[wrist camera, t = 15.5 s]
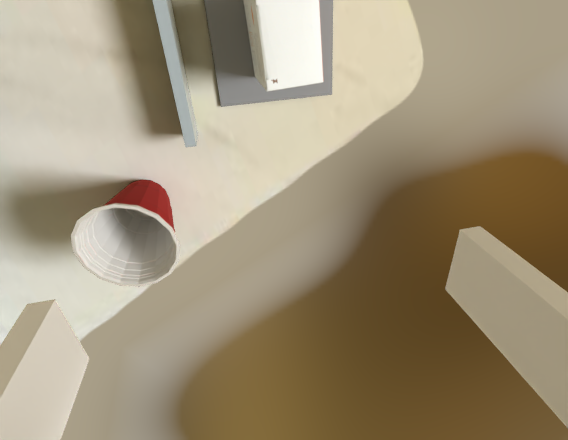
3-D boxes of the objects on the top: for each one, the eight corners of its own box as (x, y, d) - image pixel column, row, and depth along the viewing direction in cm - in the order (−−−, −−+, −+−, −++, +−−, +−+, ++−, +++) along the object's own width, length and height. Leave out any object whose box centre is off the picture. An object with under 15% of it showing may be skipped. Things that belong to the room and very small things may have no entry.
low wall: (188, 134, 42) (185, 147, 38) (142, -75, 32) (132, -90, 27) (197, 133, 42) (196, 146, 38) (155, -75, 32) (147, -90, 27)
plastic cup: (81, 183, 43) (41, 234, 32) (157, 147, 42) (141, 187, 32) (134, 245, 48) (114, 304, 38) (201, 213, 48) (199, 265, 38)
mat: (220, 105, 41) (221, 106, 41) (198, -38, 34) (198, -38, 33) (331, 93, 43) (332, 94, 42) (332, -45, 35) (333, -46, 35)
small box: (299, 71, 40) (325, 85, 31) (253, 77, 40) (266, 94, 31) (293, -9, 36) (320, -19, 27) (242, -3, 35) (252, -11, 27)
